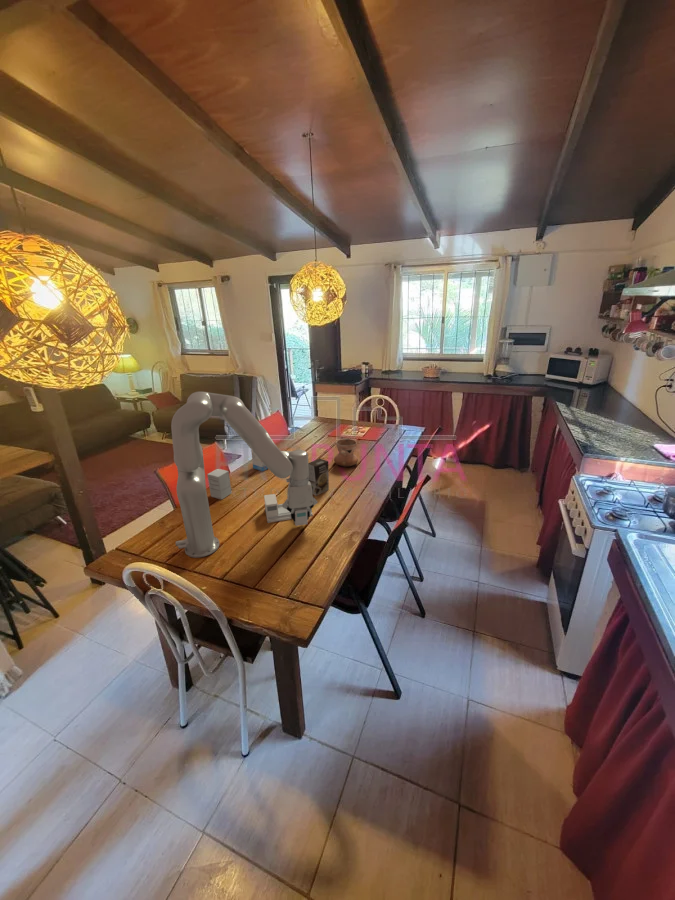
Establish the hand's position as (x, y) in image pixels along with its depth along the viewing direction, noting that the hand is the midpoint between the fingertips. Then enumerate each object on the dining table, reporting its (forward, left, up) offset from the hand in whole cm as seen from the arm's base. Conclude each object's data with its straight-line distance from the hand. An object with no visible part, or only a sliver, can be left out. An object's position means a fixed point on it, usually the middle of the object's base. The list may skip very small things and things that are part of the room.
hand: (300, 518), depth 145 cm
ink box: (-10, +67, -4) cm, 68 cm away
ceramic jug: (+39, +58, -4) cm, 70 cm away
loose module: (0, 0, -2) cm, 2 cm away
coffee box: (+15, +29, -4) cm, 33 cm away
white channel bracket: (-3, +13, -4) cm, 14 cm away
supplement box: (-33, +39, -4) cm, 52 cm away
